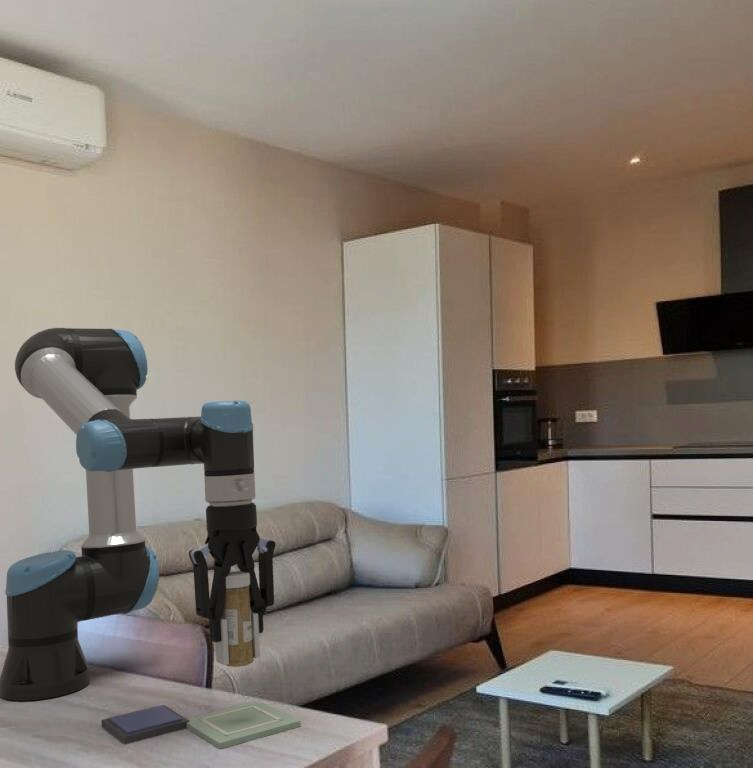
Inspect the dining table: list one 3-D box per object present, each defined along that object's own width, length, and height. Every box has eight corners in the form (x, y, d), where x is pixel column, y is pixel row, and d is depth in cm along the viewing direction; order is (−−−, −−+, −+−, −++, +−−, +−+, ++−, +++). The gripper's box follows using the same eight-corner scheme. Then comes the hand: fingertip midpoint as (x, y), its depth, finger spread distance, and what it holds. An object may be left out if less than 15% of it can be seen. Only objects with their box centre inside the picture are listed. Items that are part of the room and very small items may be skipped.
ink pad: (101, 726, 134) (101, 717, 134) (164, 711, 140) (163, 702, 140) (124, 744, 126) (123, 735, 126) (189, 727, 131) (189, 718, 132)
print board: (182, 725, 132) (182, 719, 132) (259, 705, 140) (259, 699, 140) (219, 749, 122) (219, 742, 122) (300, 726, 129) (300, 719, 129)
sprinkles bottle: (259, 663, 130) (254, 572, 131) (230, 669, 128) (226, 576, 129) (246, 657, 134) (241, 569, 135) (218, 663, 132) (214, 573, 132)
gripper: (186, 510, 124) (194, 677, 123) (293, 498, 134) (301, 652, 133) (166, 507, 130) (173, 666, 129) (270, 496, 140) (277, 644, 139)
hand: (238, 659), depth 131 cm, fingers closed on sprinkles bottle, 4 cm apart
